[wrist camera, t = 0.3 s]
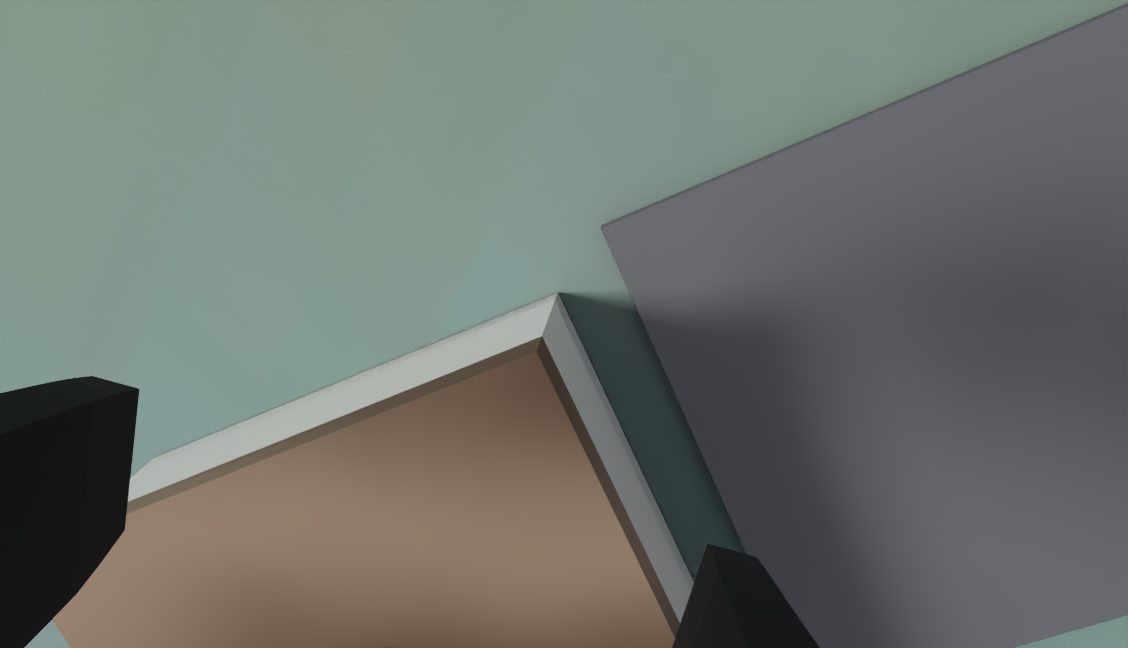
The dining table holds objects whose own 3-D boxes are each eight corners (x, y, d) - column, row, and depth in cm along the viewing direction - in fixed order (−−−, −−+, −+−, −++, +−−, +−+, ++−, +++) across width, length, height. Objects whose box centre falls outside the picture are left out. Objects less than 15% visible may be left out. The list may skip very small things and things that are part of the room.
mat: (1334, 545, 21) (1343, 553, 21) (812, 696, 24) (813, 704, 23) (1189, -23, 18) (1197, -23, 18) (602, 225, 20) (600, 228, 20)
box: (740, 681, 24) (753, 809, 20) (361, 793, 26) (311, 926, 22) (557, 292, 21) (534, 356, 17) (153, 458, 23) (55, 545, 20)
